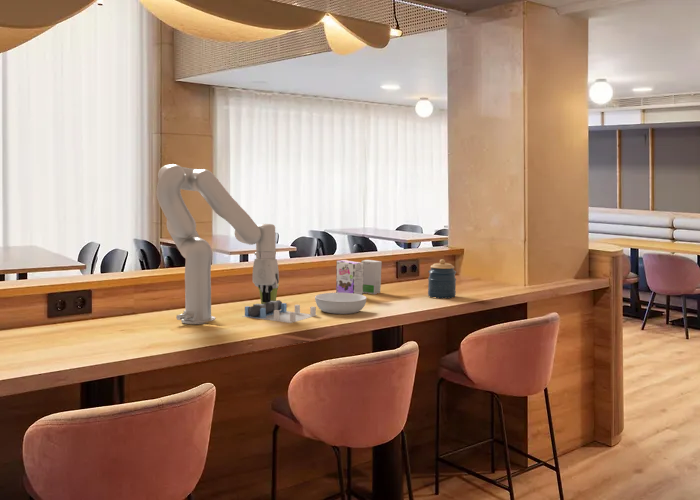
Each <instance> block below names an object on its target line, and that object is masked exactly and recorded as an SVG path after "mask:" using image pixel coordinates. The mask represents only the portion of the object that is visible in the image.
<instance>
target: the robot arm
mask: <svg viewBox="0 0 700 500" xmlns="http://www.w3.org/2000/svg"><path fill="white" fill-rule="evenodd" d="M157 179H158V181H157V186H156V198H157V202H158V205H159V207H160V208H161V211H162V213H163V214H164V217H165V218H166V228H167V232H168V234H169V235H170V237H171V239H172V241H173V242H174V244H175V246H176V248H177V250H178V251H179V252H180V255H181V256H182V257H183V258H184V259H185V265H184V292H185V295H184V296H185V297H184V298H185V299H184V300H185V301H184V303H185V304H184V306H185V310H183V312H182V313H181V314H177V315H176V320H178V321H180V320H181V321H180V322H181V323H182V324H186V325H187V324H188V325H207V324H208V323H209V322H212V321H215V320H216V316H213V315H212V281H211V280H212V276H211V275H212V271H211V270H212V257H213V251H212V246H211V245H210V243H209V242H208V241H207V240H206V239H204V238H201V237H200V235H199V232H198V231H197V222H196V219H195V218H194V217H193V215H192V213H191V212H190V209H188V206H187V205H186V203H185V200H184V198H183V196H182V192H181V191H182V190H184V191H191V192H198V193H199V194H200V195H201V197H202V198H203V199H204V201H205V202H206V203H207V204H208V206H209V207H210V208H211V210H212V211H213V212H214V213H215V214H217V216H219V217H220V218H222V219H224V220H225V221H226V222H227V223H228V224H229V225H231V226H232V228H233V230H234V236H235V239H236V240H237V241H238V242H240V243H243V244H246V245H249V246H251V245H252V246H253V245H255V250H256V251H255V252H254V256H255V257H256V258H254V260H253V264H252V266H253V267H252V278H251V279H252V283H253V284H254V286H255V287H257V288H258V287H259V288H260V290H261V292H262V302H265V303H267V302H270V301H271V292H272V290H273V289H274V288H278V289H279V286H278V284H279V282H280V272H279V271H280V270H279V263H278V259H277V257H276V255H277V253H276V251H277V250H276V225H274V224H272V223H260V224H259V223H258V224H257V223H256V222H255V220H253V219H252V217H251V216H250V215H249V214H248V213H247V211H245V210H244V209H243V207H242V206H241V205H240V204H239V203H238V202H237V201H236V200H235V199H234V198H233V196H232V195H231V194H230V193H229V192H228V191H227V189H226V188H225V187H224V186H223V183H221V182H220V181H219V179H218V178H217V176H216V175H215V174H214V173H213V172H212V171H211V170H209V169H205V168H203V169H202V168H201V169H200V168H199V169H197V168H191V167H190V168H188V167H183V166H181V165H179V164H177V163H176V164H174V163H172V164H165V165H163V166H162V167H161V168H159V170H158V173H157Z"/></svg>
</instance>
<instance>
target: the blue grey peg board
mask: <svg viewBox="0 0 700 500" xmlns="http://www.w3.org/2000/svg"><path fill="white" fill-rule="evenodd" d="M287 303H288V302H287ZM287 303H285V302H282V303H281V310H274V313H271V312H270V313H266V308H261V309H260V316H254V317H251V316H250V315H249V313H248V309H249V307H251V305H250V306H249V305H246V306H244V315H242V317H245V318H251V319H257V320H259V319H260V320H267V321H273V322H280V323H281V322H282V323H287V324H292V323H296V322H299V321H303V320H306V319H309V318H312V317H317V316H318V314H316V313H317V311H316V309H317V306H310V310H309V311H310V313H305V312H304V313H303V312H301V305H300V304H294V311H288V309H287V306H288V305H287Z"/></svg>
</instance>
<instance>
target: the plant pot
mask: <svg viewBox="0 0 700 500" xmlns="http://www.w3.org/2000/svg"><path fill="white" fill-rule="evenodd" d="M279 287H280V284H279V283H278V288H274V289H273V290H272V292H271V301H277V297H278V296H277V295H278V289H279ZM257 289H258V291H259V298H260V304H264V303H265V302H262V292H261V290H260V288H259V287H257Z"/></svg>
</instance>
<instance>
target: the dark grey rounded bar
mask: <svg viewBox="0 0 700 500" xmlns="http://www.w3.org/2000/svg"><path fill="white" fill-rule="evenodd" d="M281 303H283V302H282V301H281V300H279V299H278V300H277V299H276V301H270V302H267V303H264V304H261V303H253V305H250V307H249V309H248V313H249V315H250V316H251V317H254V316H260V309H261V308H266V313H270V312H271V313H274V310H281Z"/></svg>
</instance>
